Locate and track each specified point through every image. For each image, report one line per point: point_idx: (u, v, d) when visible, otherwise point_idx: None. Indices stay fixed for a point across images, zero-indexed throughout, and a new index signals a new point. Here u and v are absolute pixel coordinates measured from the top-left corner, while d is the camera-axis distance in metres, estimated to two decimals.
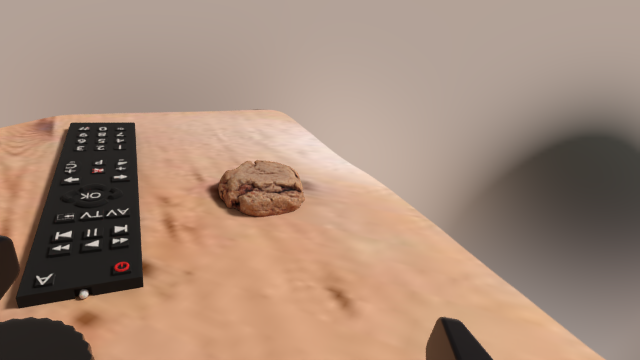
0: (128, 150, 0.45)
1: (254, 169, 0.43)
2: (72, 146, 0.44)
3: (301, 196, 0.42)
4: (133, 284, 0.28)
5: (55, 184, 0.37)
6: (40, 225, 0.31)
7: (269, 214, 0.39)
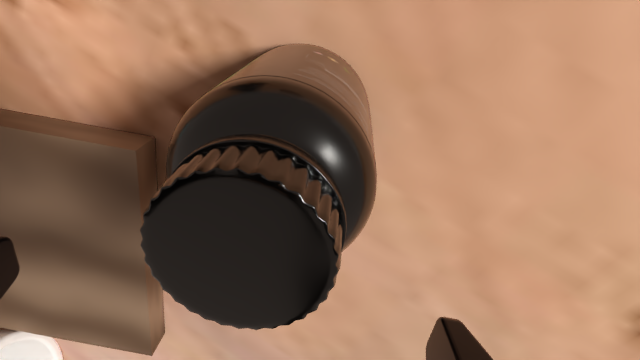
0: None
1: None
2: None
3: None
4: None
5: None
6: None
7: None
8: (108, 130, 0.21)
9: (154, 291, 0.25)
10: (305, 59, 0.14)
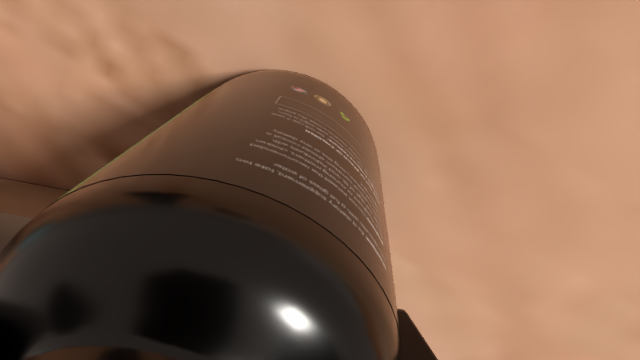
0: None
1: None
2: None
3: None
4: None
5: None
6: None
7: None
8: (14, 184, 0.15)
9: None
10: (272, 110, 0.08)
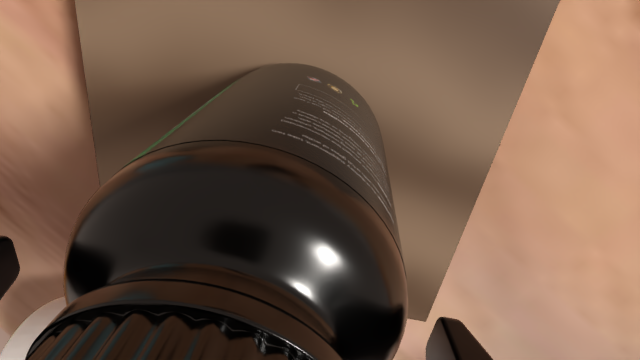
0: None
1: None
2: None
3: None
4: None
5: None
6: None
7: None
8: None
9: None
10: (294, 95, 0.09)
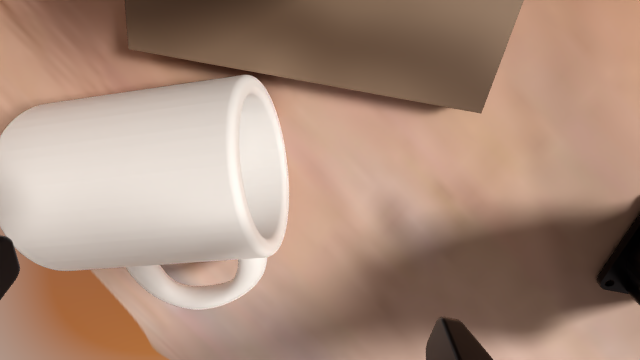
0: None
1: None
2: None
3: None
4: None
5: None
6: None
7: None
8: None
9: None
10: None
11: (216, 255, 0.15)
